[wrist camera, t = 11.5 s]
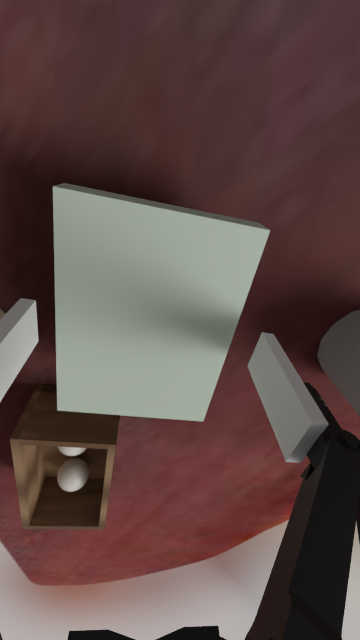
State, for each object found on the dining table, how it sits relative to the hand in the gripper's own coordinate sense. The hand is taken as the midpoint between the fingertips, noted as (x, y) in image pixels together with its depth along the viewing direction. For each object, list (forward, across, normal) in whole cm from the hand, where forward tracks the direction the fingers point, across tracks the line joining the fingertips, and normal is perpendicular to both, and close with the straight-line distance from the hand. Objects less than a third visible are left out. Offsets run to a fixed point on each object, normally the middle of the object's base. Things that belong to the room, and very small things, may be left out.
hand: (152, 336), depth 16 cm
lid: (+3, 0, -1) cm, 3 cm away
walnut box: (+6, -5, -19) cm, 20 cm away
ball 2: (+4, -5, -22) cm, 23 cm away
